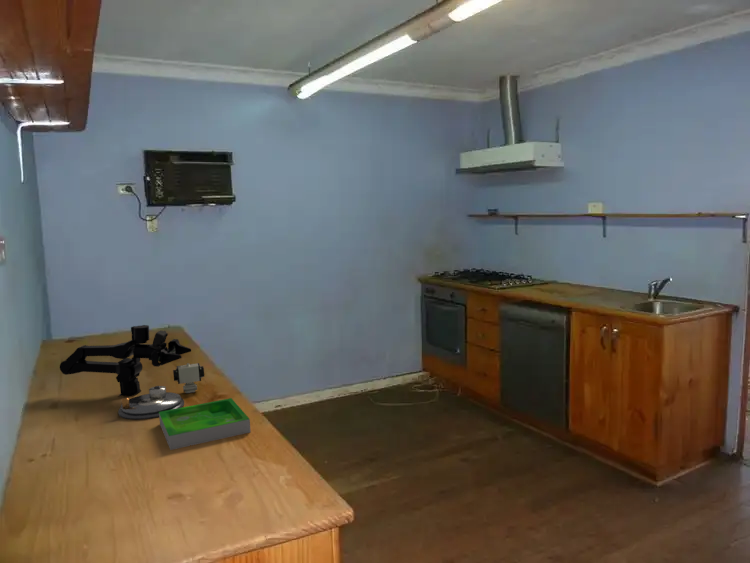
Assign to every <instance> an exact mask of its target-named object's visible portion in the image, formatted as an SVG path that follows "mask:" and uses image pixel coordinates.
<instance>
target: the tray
mask: <svg viewBox="0 0 750 563" xmlns="http://www.w3.org/2000/svg"><path fill="white" fill-rule="evenodd" d="M158 418H159V425H160V428H161V430H162V432H163V435H164V437H165V441H166V442H167V445H168V447H169V450H170V451H172V450H176V449H177V450H178V449H181V448H185V447H190V445H191V446H195V445H199V444H204V443H208V442H213V441H217V440H222V439H226V438H231V437H235V436H239V435H240V436H241V435H244V434H248V433H251V432H252V430H251V421H250V420H251V419H250V418H249V417H248V415H247V413H245V412H244V410H243V409H241V407H240V406H239V405H238V404H237V403H236V401H235V400H234V399H233V398H231V397H230V398H226V399H225V398H224V399H219V400H214V401H209V402H208V401H207V402H204V403H199V404H194V405H193V404H192V405H189V406H187V405H186V406H183V407H182V408H177V409H172V410H167V411H161V412H159V417H158Z"/></svg>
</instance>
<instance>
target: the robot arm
mask: <svg viewBox="0 0 750 563" xmlns="http://www.w3.org/2000/svg"><path fill="white" fill-rule="evenodd" d="M130 333H131V339H130V340H129V341H126V342H121V343H117V344H112V345H111V344H110V345H105V344H104V345H86V344H85V345H84V344H83V345H81V346H79V347H76V349H75V350H74V352H73V353H71V354H70V355H69V356H68V357H67V358H66V359H65V360H63V361H61V362H60V364H59V370H60V371H61V373H62V374H63V375H66V376H67V375H75V374H79V373H83V372H84V373H103V374H116V375H117V376H116V377H115V379H116V381H117V382H118V383H119V387H120V389H119V390H120V393H119V394H118V396H119V397H133V396H134V397H135V396H136V395H138V394H139V393H141V392H142V390H141V386H140V380H139V378H138V377H139V376H140V374H141V372H142V370H143V368H144V367H143V364H142V362H141V359H145V360H146V359H148V361H151V365H152V366H153V367H156V368H157V367H160V366H164V365H166V364H169V363H171V362H175V361H177V360H180V359H182V355H184V354H187V353H191V352H192V348H190V347H187V346H185V345H183V344H180V341H179V339H177V338H176V339H175V338H173V339H171V340H169V342H168V343H167V342H166V340H167V338H168V335H169V333H168V332H167V331H166V330H158V331H156V332H155V334H154V337H153V340H152V344H149V343H148V341H149V340H150V326H149V325H148V324H142V325H135V326H134V325H133V326H131V327H130ZM146 343H147V344H146ZM131 356H132V357H131ZM87 357H112V358H114V359H119V361H116V362H113V361H95V360H87ZM130 357H131V358H130Z"/></svg>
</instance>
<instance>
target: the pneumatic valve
mask: <svg viewBox="0 0 750 563" xmlns="http://www.w3.org/2000/svg"><path fill="white" fill-rule="evenodd" d="M172 374H173V381H174V382H177V384H178V385H181V384H184V385H183V386H182V387H183V388H182V390H183V392H184V393H185V394H193V393H196V391H198V385H197V384H196V382H201V381H202V378H204V377H205V368H204V365H201V364H200V363H199V362H198V363H191V364H190V362H187V363H186V364H184V365H177V366H176V368H175V369H173V370H172Z"/></svg>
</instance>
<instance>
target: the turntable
mask: <svg viewBox="0 0 750 563" xmlns="http://www.w3.org/2000/svg"><path fill="white" fill-rule="evenodd" d="M181 398H182V396H181V395H180V394H178V393H177V392H170V391H169V392H167V391H166V396H165V397H163V398H159V399H151V398H150V395H149V393H146V394H142V395H137V396H134V397H132V398H129V396H124V397H122V398H121V405H120V408H121V411H122V412H123V413H125V414H128V415H147V414H154V413H159V412H161V411H166V410H169V409H171V408H174V407H176V406H177V405H179V404H180V403H181Z"/></svg>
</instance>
